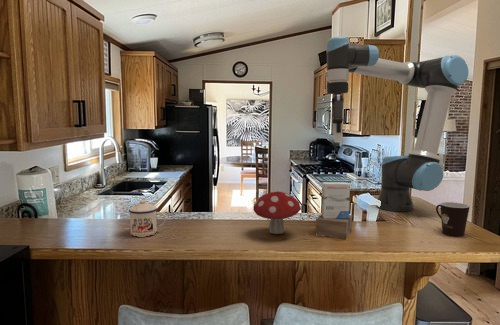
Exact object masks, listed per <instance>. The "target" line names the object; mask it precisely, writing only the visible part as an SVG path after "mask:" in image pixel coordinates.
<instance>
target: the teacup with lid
mask: <svg viewBox="0 0 500 325" xmlns="http://www.w3.org/2000/svg"><path fill="white" fill-rule="evenodd" d="M157 210H158V208H157V206H156V205H155V204H154V205H153V204H151V203H148V202H147V201H146V200H145V199H141V200H139V203H137V204H135V205H134V206H131V207H130V208H129V210H128V212H129V224H130V229H129V230H130V234H131V233H133V234H139V235H141V234H142V235H143V234H151V233H154V232H156V231H157V232H158V228H159V227H162V226H164V225H165V223H166V220H167V217H166V214H165V212H162V211H157ZM157 215H162V216H163V221H162V222H161V223H159V224H157V223H158V222H157V218H158V217H157Z"/></svg>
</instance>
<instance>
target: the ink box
mask: <svg viewBox="0 0 500 325" xmlns="http://www.w3.org/2000/svg"><path fill="white" fill-rule="evenodd" d="M321 184H322V186H321V188H322V189H321V214H322V216H323V218H324V219H349V215H350V200H351V196H350V195H351V194H350V193H351V184H349V182H345V181H344V182H343V181H342V182H339V181H338V182H335V181H334V182H333V181H332V182H330V181H322V183H321Z"/></svg>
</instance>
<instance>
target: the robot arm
mask: <svg viewBox="0 0 500 325" xmlns="http://www.w3.org/2000/svg"><path fill="white" fill-rule="evenodd" d="M325 52H326V73H325V74H324V76H325V77H326V82H327V84H326V93H327V95H333V96H332V97H333V98H332V99H331V104H332V110H333V113H332V114H333V116H332V125H333V126H332V131H333V132H332V136H333V137H332V138H333V139H332V141H333V142H334V143H343V132H344V131H343V124H344V123H343V121H344V117H343V109H344V97H343V94H347V93H349V83H348V81H349V79H350V78H349V77H350V76H349V73H352V74H358V75H363V76H369V77H375V78H378V79H385V80H391V81H396V82H399V84H401V85H405V86H409V87H415V88H420V89H424V90H425V91H426V93H427V95H426V99H425V103H424V108H423V111H422V116H421V118H420V123H419V127H418V128H419V129H418V131H417V136H416V141H415V144H414V147H413V150H412V151H411V152H409V153H408V155H393V156H391V155H389V156H384V157H383V158H382V160H381V177H380V178H381V179H380V180H381V181H380V182H381V183H380V184H381V185H380V186H381V189H380V192H379V195H378V197H377V199H378V200H380V201H381V206H380V208H379V209H380V210H384V211H389V212H411V211H413V210H414V202H413V199H412V195H411V191H410V189H414V190H416V191H422V192H423V191H425V192H429V191H434V189H437V187H439V185H440V184H441V183H442V181H443V178H444V170H443V166H442V165H441V164H440V161H441V159H440V157H439V156H438V152H439V148H440V144H441V139H442V136H443V132H444V127H445V123H446V118H447V115H448V110H449V106H450V103H451V100H452V96H453V95H455V94H457V93H458V89H459V86H461V85H463V84H464V83H465V82H466V81H467V80H468V77H469V67H468V64H467V62H466V60H465V59H464V58H463V57H462V56H459V55H457V54H452V55H445V56H443V57H442V56H441V57H438V58H437V57H436V58H433V59H427V60H423V61H404V62H399V61H396V60H392V59H391V60H390V59H385V58H380V52H379V48H378V47H377V46H375V45H371V44H354V43H353V44H352V43H350V41H349V38H348V37H346V36H333V37H331V38H329V39H328V40H327V42H326V51H325Z"/></svg>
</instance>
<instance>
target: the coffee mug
mask: <svg viewBox="0 0 500 325" xmlns="http://www.w3.org/2000/svg"><path fill="white" fill-rule="evenodd" d="M439 207H440V211H439ZM435 212H436V214H437V215H438V218H440V219H441V231H442V234H443V235H445V236H448V237H452V236H453V237H454V238H461V237H464V236H465V232H466V227H467V222H468V218H469V213H470V205H468V204H466V203H461V202H452V201H451V202H450V201H443V202H440V203H439V204H437V205H436V208H435Z"/></svg>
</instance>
